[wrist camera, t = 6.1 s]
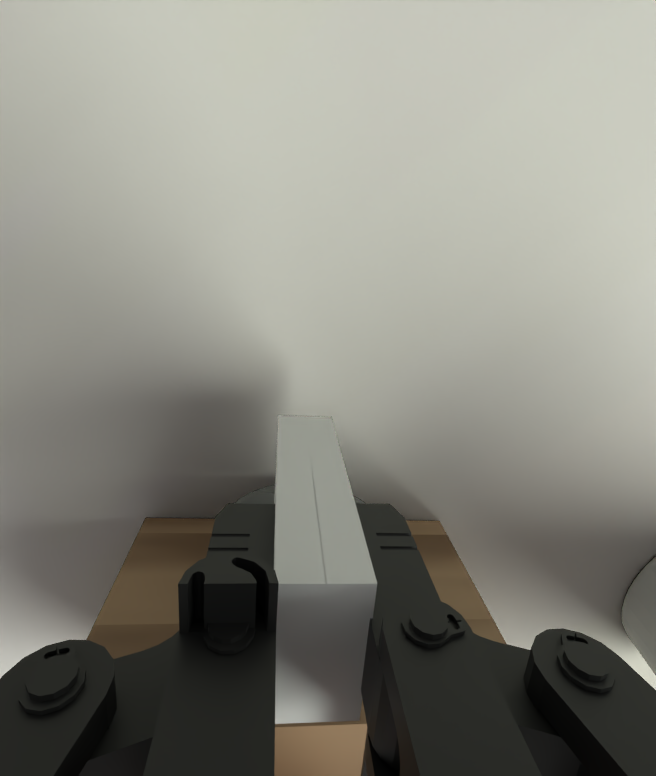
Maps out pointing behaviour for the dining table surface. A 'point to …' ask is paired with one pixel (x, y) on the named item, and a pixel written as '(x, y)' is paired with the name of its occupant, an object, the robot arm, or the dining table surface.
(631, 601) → the coffee cup
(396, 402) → the dining table surface
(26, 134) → the dining table surface
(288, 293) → the dining table surface
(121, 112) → the dining table surface
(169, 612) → the block
